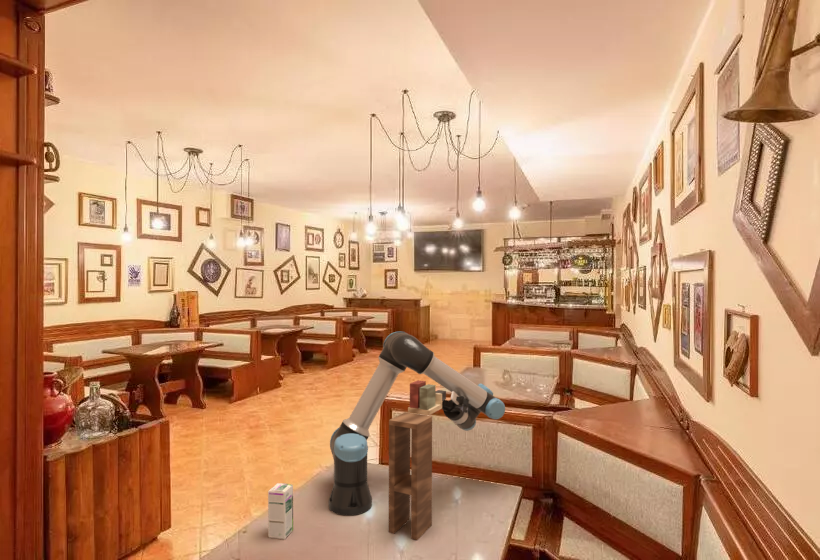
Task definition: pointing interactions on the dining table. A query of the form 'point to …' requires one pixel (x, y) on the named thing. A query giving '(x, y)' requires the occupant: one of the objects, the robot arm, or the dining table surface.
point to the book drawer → (425, 398)
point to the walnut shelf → (420, 473)
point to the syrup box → (280, 511)
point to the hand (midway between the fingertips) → (435, 392)
